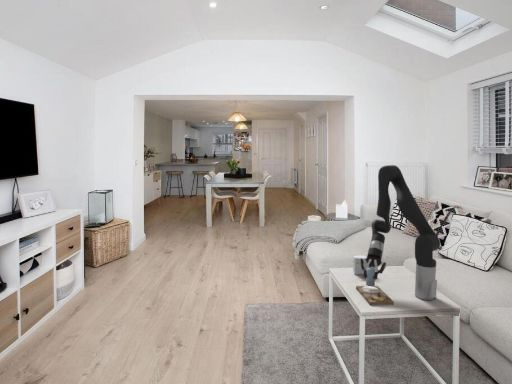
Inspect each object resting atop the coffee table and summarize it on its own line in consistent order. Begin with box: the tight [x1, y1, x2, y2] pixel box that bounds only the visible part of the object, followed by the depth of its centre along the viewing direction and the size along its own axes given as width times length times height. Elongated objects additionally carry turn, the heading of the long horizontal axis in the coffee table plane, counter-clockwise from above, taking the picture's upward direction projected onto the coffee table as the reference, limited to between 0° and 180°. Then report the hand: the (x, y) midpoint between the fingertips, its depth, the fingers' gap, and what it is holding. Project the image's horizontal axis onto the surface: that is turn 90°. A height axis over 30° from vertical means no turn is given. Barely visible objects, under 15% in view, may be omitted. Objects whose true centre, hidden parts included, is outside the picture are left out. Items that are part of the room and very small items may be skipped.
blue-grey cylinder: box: [365, 267, 376, 286], centre depth 177 cm, size 4×4×9 cm
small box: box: [352, 255, 367, 275], centre depth 207 cm, size 8×6×10 cm
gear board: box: [355, 285, 394, 306], centre depth 173 cm, size 20×12×5 cm, turn 2°
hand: (369, 278), depth 176 cm, fingers closed on blue-grey cylinder, 4 cm apart
